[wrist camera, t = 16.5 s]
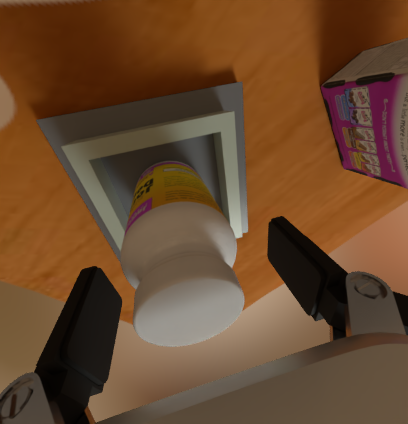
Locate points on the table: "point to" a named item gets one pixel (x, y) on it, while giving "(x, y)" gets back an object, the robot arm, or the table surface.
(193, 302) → the supplement bottle
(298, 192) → the table surface
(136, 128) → the tray
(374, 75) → the candy bar box
